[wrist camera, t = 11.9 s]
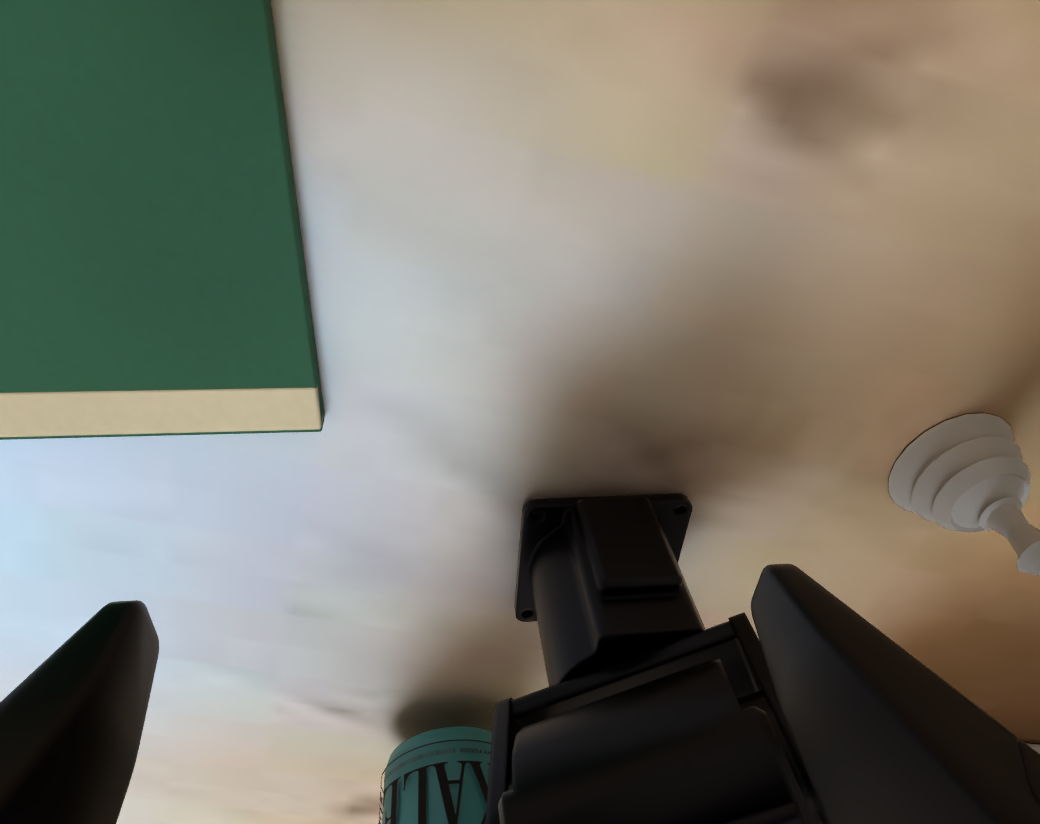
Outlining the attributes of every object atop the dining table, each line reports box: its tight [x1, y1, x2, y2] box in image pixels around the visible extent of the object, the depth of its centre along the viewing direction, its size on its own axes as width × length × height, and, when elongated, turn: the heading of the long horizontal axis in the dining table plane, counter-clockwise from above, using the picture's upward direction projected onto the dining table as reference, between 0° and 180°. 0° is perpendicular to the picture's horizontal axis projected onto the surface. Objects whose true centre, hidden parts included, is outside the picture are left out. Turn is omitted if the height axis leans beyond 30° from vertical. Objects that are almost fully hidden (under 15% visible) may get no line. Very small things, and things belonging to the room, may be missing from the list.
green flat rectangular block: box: [0, 0, 324, 440], centre depth 15 cm, size 20×12×1 cm, turn 176°
